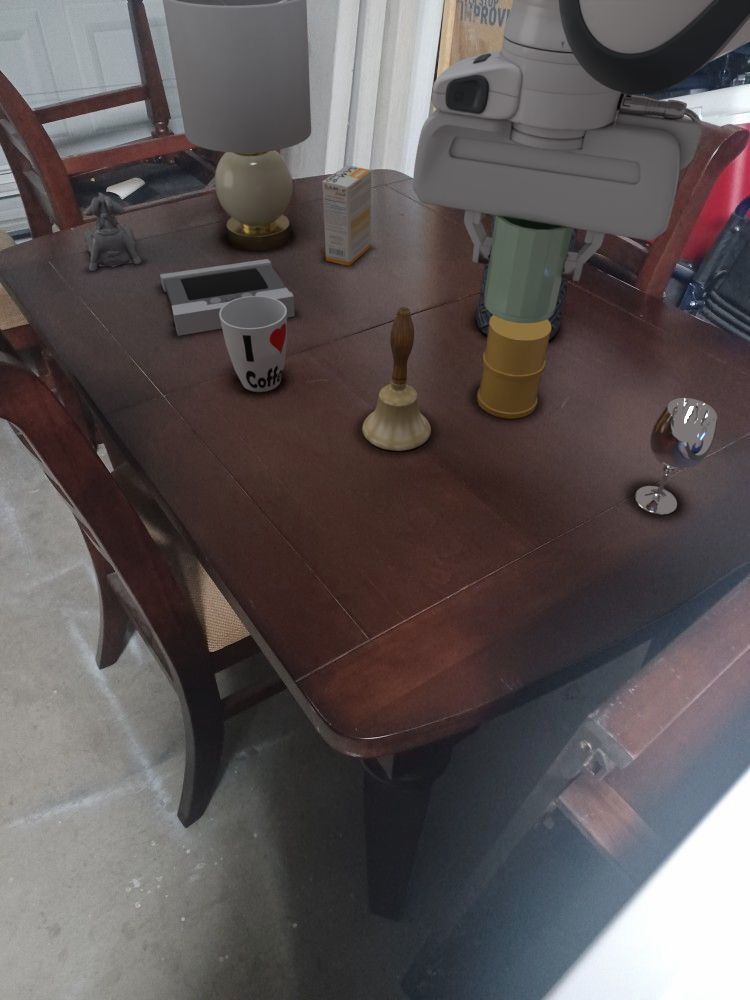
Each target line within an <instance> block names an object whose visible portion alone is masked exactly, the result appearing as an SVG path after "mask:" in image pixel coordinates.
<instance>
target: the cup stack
mask: <svg viewBox="0 0 750 1000" xmlns="http://www.w3.org/2000/svg"><path fill="white" fill-rule="evenodd" d="M550 333H551V324H550V322H549V320H548V319H546V320H544V321H541V322H536V323H516V322H511V321H507V320H503V319H501V318H498V317H496V316H494V315H493V316H492V317H491V318H490V321H489V328H488V335H486V342H485V343H486V344H485V350H484V351H483V354H482V360H481V365H482V371H481V378H480V382H479V383H480V384H479V388H478V390H477V393H476V394H477V395H476V401H477V404H478V406H479V407H480V408H481V409H482V410H483V411H485V412H486V413H487V414H490V415H491V416H494V417H497V418H501V419H510V420H515V419H521V418H524V417H527V416H529V415H531V414H532V413H533V412H534V411H535V410H536V409H537V405H538V400H539V399H538V393H539V388H540V384H541V380H542V375H543V373H544V372H545V369H546V365H547V364H546V357H547V351H548V346H549V341H550V339H549V338H550Z"/></svg>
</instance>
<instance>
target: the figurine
mask: <svg viewBox="0 0 750 1000" xmlns="http://www.w3.org/2000/svg"><path fill="white" fill-rule="evenodd" d="M97 193H98V196H97V197H93V198H92V199H91V201H90V205H88V206H87V208H85V210H83V211H82V215H84V216H86V217H92V216H95V217H96V222H95V226H94V228H93V229H92V230H85V231H84V233H83V239H84V241H85V243H86V244H85V246H86V248H87V250H88V253H89V255H90V258H89V259H90V261H89V262H90V263H89V265H88V270H89V271H90V272H93V271H96V270H98V269H99V267H118V266H120V265H127V264H133V265H140V264H142V263H143V261H142V259H141V257H140V256H139V255H138V253H137V251H136V240H135V234H134V231H133V229H132V228H131V227H130V226H128V225H125V226H123V227H122V225H120V224H119V222H118V219H117V217H116V216H115V215H125V214H127V209H126V208H124V207H123V206H121V205H120V204H119V203H118V202H116V201H114V200H112V198H111V197H110V196H108V195H105V194H104V193H102V192H97Z"/></svg>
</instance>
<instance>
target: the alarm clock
mask: <svg viewBox="0 0 750 1000" xmlns="http://www.w3.org/2000/svg"><path fill="white" fill-rule="evenodd" d="M159 277H160V280H161V281H160V282H161V286H162V289H163V291H164V293H166V294H167V297H168V299H169V302H170V305H171V306H170V307H171V309H172V315H173V321H174V324H175V325H174V326H175V330H176V334H177V336H178V337H180V336H185V335H191V334H192V335H193V334H197V333H203V332H210V331H216V330H221V329H222V325H221V321H220V316H219V312H220V310H221V308H222V307H223V306H224V305H225V304H227V303H228V302H230V301H232V300H235V299H238V298H242V297H247V296H266V297H271V298H274V299H277V300H279V301H280V302H282V303H283V304H284V305H285V307H286V309H287V319H289V318H293V317H296V316H295V298H294V294H293V292H292V291H290V290H289V289H288V287H286V285H284V283H283V281H282V279H281V277H280V275H279V274H278V273H277V272H276V270H275V268H273V266H272V262H271V260H269V259H268V258H265V259H258V260H257V259H256V260H252V261H251V260H249V261H244V262H237V263H232V264H231V263H230V264H223V265H215V266H210V267H202V268H195V269H194V268H193V269H187V270H182V271H175V272H167V273H161V274H159Z"/></svg>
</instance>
